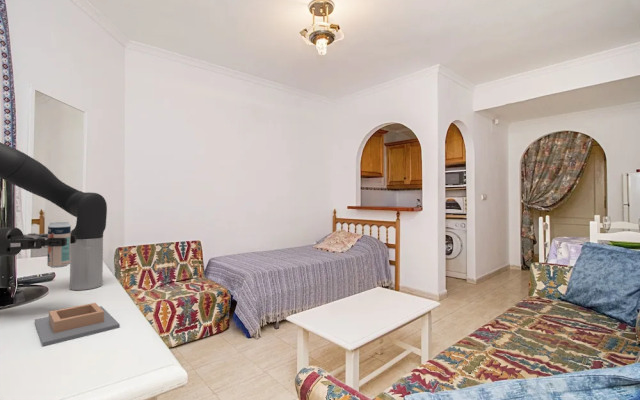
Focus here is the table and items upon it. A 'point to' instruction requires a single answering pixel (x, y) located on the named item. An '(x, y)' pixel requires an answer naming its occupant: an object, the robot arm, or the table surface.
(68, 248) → the beer can
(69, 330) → the socket plate
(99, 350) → the table surface
